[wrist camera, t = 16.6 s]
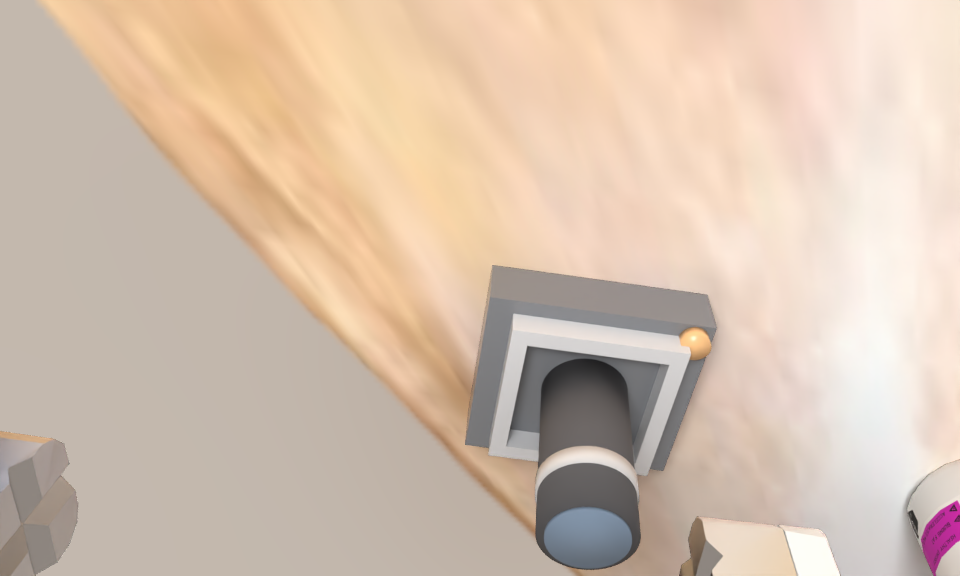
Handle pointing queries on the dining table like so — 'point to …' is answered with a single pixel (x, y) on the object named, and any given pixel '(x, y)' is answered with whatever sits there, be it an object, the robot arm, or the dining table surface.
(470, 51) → the dining table surface
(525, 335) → the dock
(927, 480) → the supplement can
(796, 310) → the dining table surface
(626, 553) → the lens
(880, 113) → the dining table surface
